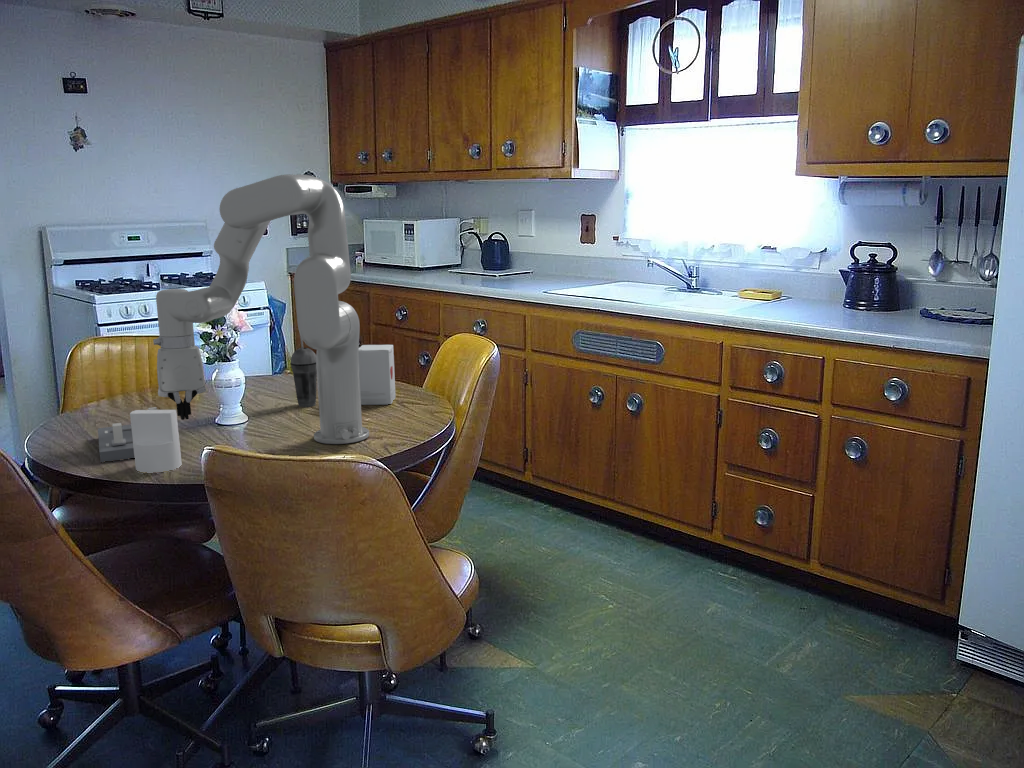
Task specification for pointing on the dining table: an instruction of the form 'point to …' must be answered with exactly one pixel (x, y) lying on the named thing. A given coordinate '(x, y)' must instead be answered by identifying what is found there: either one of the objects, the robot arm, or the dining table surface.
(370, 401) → the supplement box
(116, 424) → the block
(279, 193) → the robot arm
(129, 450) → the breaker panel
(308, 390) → the beverage cup
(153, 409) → the breaker
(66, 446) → the dining table surface
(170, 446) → the grey upright block
